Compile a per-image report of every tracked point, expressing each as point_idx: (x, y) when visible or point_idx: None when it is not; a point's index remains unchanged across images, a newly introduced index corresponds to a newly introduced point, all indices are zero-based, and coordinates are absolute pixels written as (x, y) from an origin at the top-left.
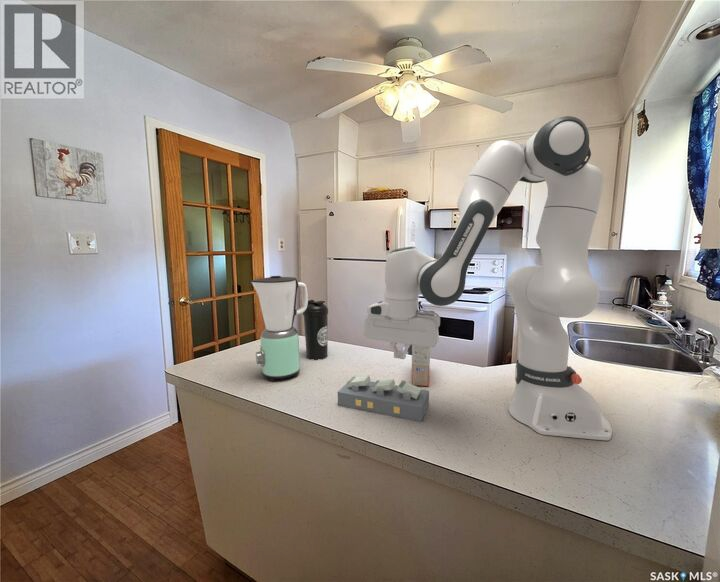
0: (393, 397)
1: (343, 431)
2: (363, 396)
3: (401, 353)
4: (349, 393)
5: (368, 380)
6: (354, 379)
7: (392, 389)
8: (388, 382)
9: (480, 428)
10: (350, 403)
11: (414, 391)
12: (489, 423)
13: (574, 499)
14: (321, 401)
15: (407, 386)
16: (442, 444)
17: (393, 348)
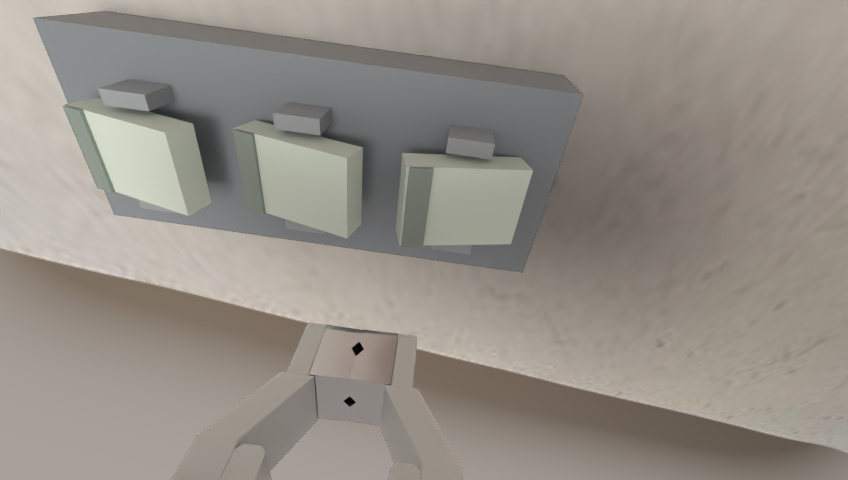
0: (384, 217)
1: (281, 315)
2: (248, 232)
3: (377, 422)
4: (173, 218)
5: (192, 156)
6: (107, 155)
7: (354, 130)
8: (327, 198)
9: (747, 235)
10: None
11: (492, 229)
12: (813, 195)
13: (815, 422)
14: (76, 168)
15: (449, 210)
16: (573, 325)
17: (274, 459)
